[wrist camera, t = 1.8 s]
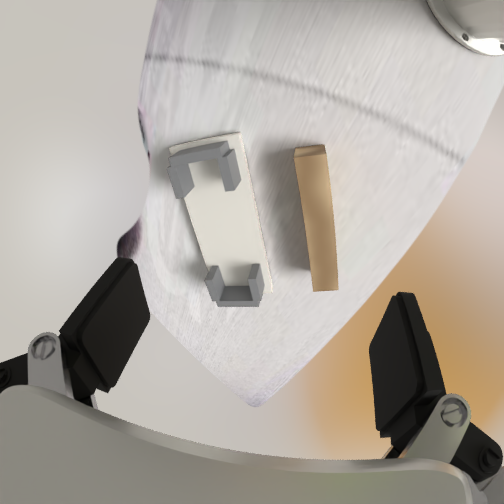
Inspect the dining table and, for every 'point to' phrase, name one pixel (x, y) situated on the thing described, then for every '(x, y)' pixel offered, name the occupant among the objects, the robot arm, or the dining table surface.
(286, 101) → the dining table surface
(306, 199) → the slat
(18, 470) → the robot arm
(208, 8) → the dining table surface
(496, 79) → the dining table surface
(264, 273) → the mounting board
